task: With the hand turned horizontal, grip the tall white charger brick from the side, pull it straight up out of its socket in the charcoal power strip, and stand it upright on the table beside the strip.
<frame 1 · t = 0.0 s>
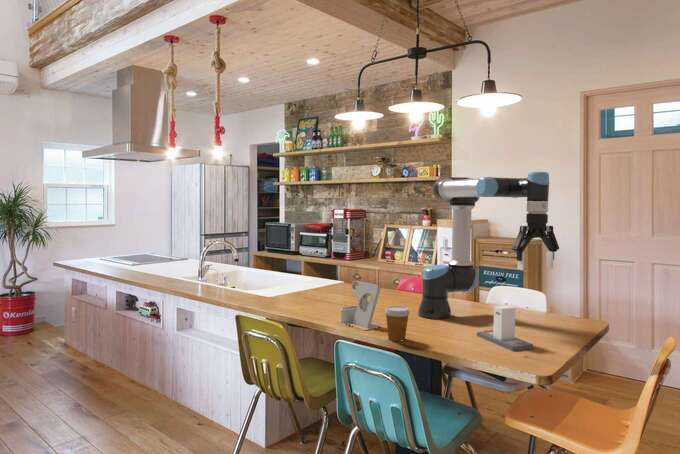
hand: (535, 269, 184), 28 cm above the counter, tool pointing down, fingers open, 13 cm apart
power strip: (503, 345, 179), on the counter
disposable coffee cup: (396, 339, 186), on the counter
phone holder: (359, 325, 208), on the counter
charger: (503, 341, 179), point 1 cm above the counter, touching power strip
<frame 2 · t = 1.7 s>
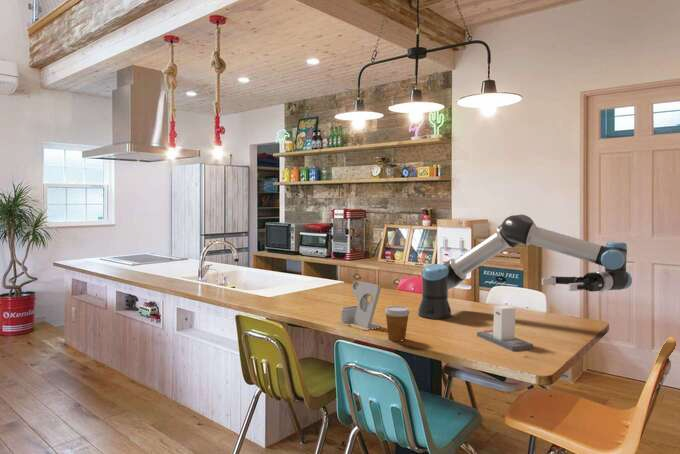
hand: (555, 284, 186), 22 cm above the counter, tool horizontal, fingers open, 13 cm apart
nothing on the counter moved.
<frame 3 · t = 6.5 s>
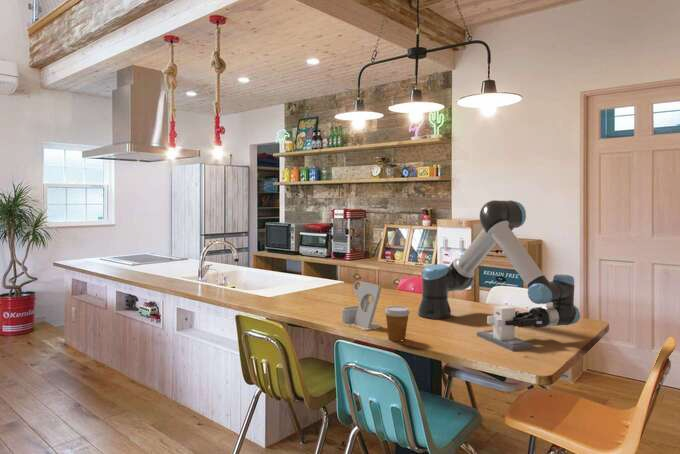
hand: (492, 321, 177), 9 cm above the counter, tool horizontal, fingers closed on charger, 4 cm apart
charger: (503, 341, 179), point 1 cm above the counter, touching gripper, power strip
everything else where it was.
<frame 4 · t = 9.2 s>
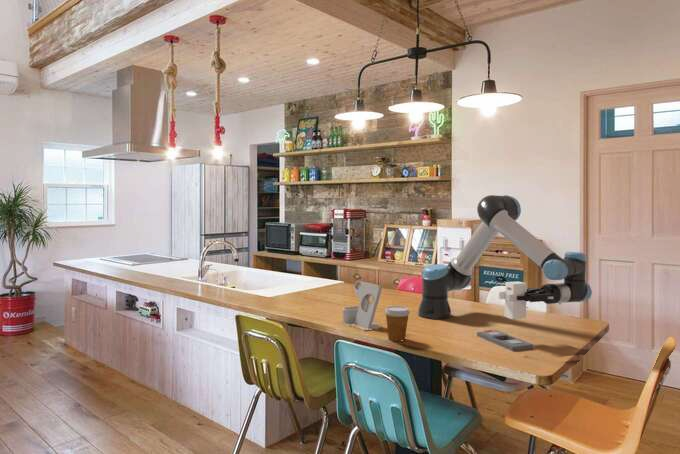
hand: (503, 296, 178), 18 cm above the counter, tool horizontal, fingers closed on charger, 4 cm apart
charger: (515, 317, 180), point 10 cm above the counter, touching gripper
everything else where it was.
when the fingers open (9 cm above the counter, at t = 11.6 s): charger drops 1 cm, on the counter.
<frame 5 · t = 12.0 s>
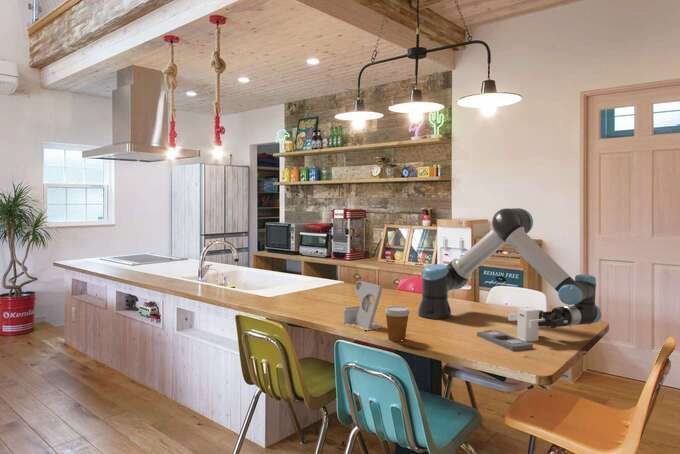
hand: (519, 320, 181), 9 cm above the counter, tool horizontal, fingers open, 10 cm apart
charger: (527, 343, 183), on the counter
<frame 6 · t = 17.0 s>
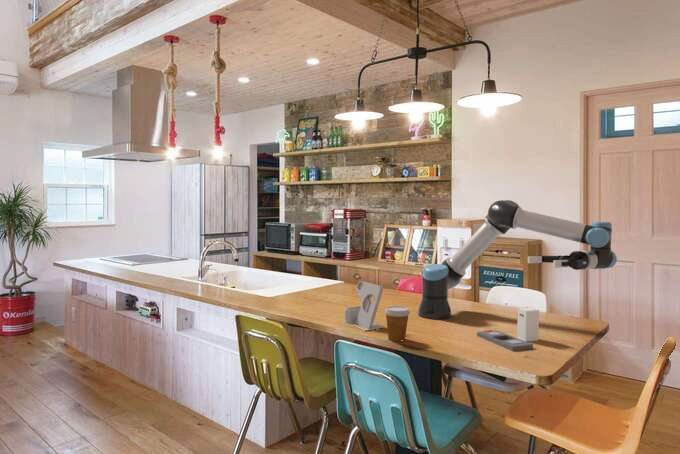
hand: (540, 261, 190), 30 cm above the counter, tool horizontal, fingers open, 13 cm apart
at the end: charger inside the target area (0.0 cm from its centre), on the counter; charger tilted 0°; the gripper is holding nothing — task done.
